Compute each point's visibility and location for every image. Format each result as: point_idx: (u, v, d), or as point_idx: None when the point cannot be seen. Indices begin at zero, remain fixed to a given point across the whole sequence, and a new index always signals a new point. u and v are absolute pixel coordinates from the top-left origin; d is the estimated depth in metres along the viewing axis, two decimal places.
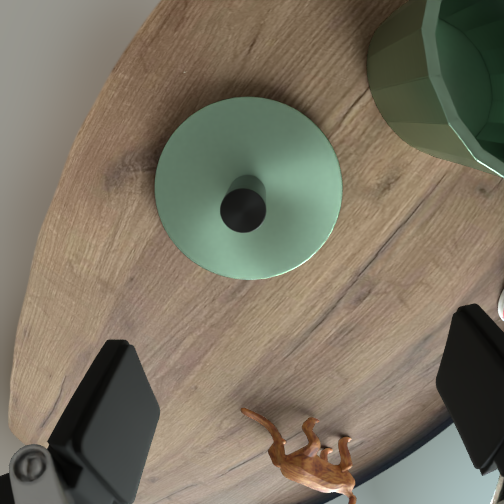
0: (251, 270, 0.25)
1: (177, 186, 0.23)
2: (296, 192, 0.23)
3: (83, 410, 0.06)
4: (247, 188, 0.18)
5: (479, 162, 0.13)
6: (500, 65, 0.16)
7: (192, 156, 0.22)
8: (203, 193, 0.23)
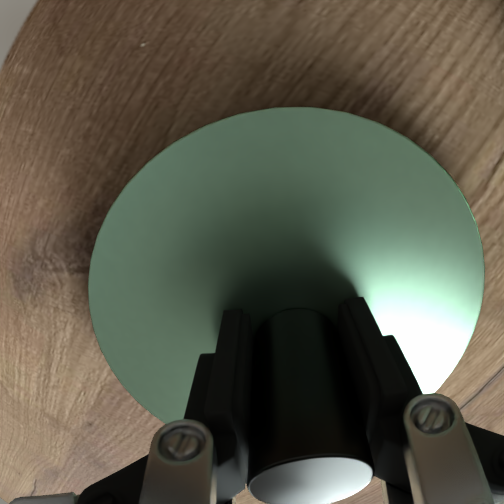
0: None
1: (136, 323, 0.10)
2: (399, 336, 0.10)
3: (232, 374, 0.07)
4: (333, 444, 0.05)
5: None
6: None
7: (164, 262, 0.09)
8: (196, 341, 0.10)
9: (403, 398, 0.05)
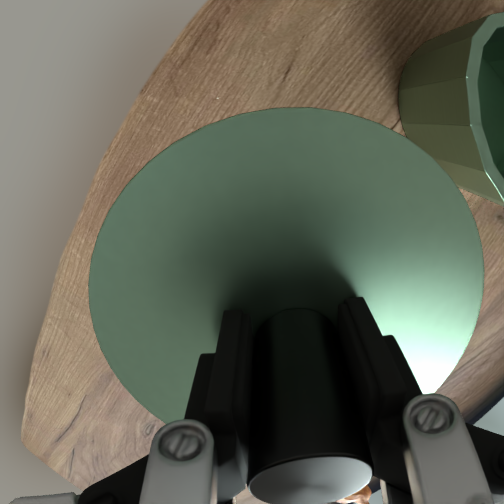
0: None
1: (136, 323, 0.10)
2: (398, 336, 0.10)
3: (232, 374, 0.07)
4: (332, 444, 0.05)
5: None
6: None
7: (164, 263, 0.09)
8: (196, 341, 0.10)
9: (403, 398, 0.05)
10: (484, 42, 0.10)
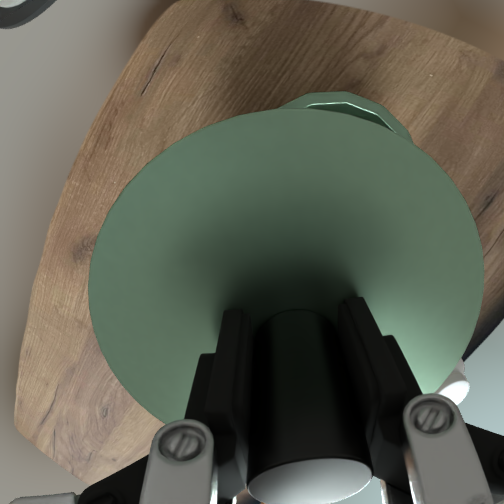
0: None
1: (136, 324, 0.10)
2: (398, 337, 0.10)
3: (232, 374, 0.07)
4: (332, 446, 0.05)
5: None
6: None
7: (163, 264, 0.09)
8: (196, 342, 0.10)
9: (402, 398, 0.05)
10: None
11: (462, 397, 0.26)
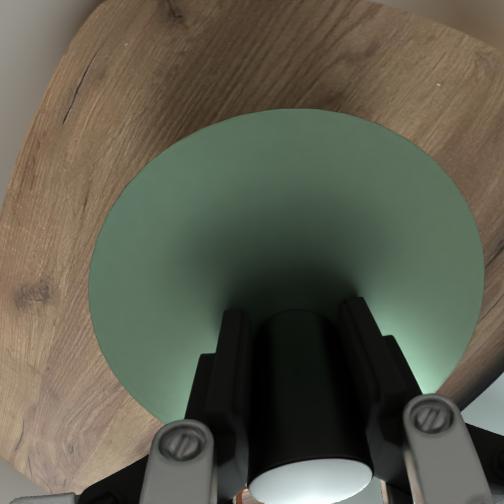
0: None
1: (136, 324, 0.10)
2: (399, 337, 0.10)
3: (232, 374, 0.07)
4: (333, 446, 0.05)
5: None
6: None
7: (164, 264, 0.09)
8: (196, 342, 0.10)
9: (403, 398, 0.05)
10: None
11: None
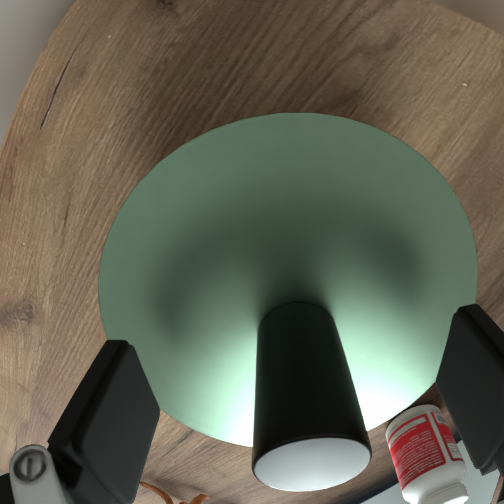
0: None
1: (144, 317, 0.10)
2: (395, 330, 0.10)
3: (83, 410, 0.06)
4: (332, 425, 0.05)
5: None
6: None
7: (172, 258, 0.09)
8: (201, 334, 0.10)
9: None
10: None
11: None
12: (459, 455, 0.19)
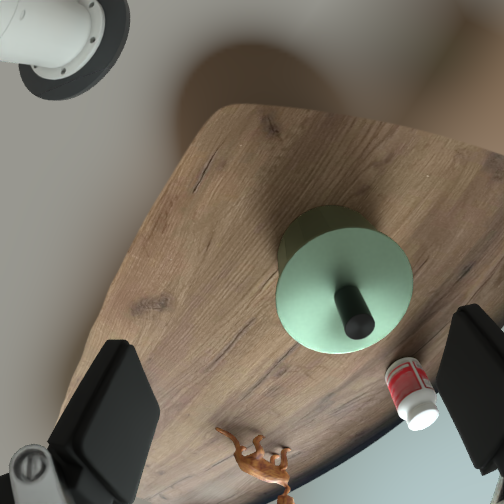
0: (342, 347, 0.32)
1: (295, 292, 0.30)
2: (381, 296, 0.29)
3: (83, 410, 0.06)
4: (364, 312, 0.25)
5: None
6: None
7: (310, 271, 0.29)
8: (315, 297, 0.30)
9: None
10: None
11: (433, 420, 0.35)
12: (431, 386, 0.38)
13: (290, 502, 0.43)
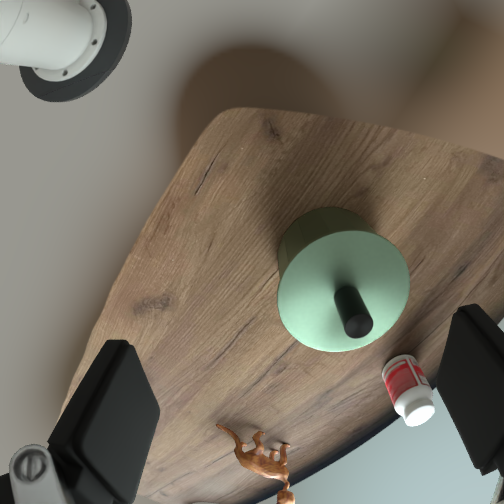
0: (341, 345, 0.33)
1: (296, 293, 0.30)
2: (379, 296, 0.30)
3: (83, 410, 0.06)
4: (363, 312, 0.26)
5: None
6: None
7: (310, 272, 0.30)
8: (315, 298, 0.31)
9: None
10: None
11: (429, 416, 0.37)
12: (427, 383, 0.39)
13: (290, 497, 0.44)
